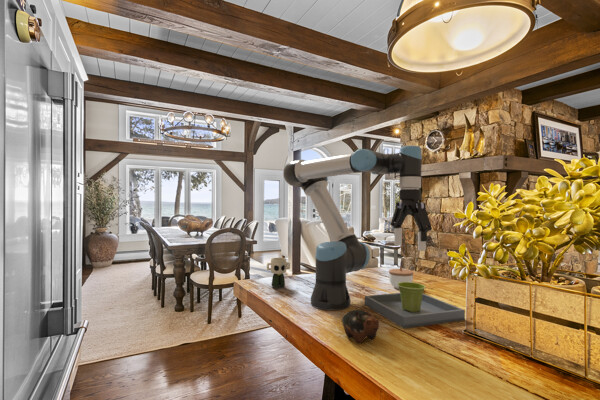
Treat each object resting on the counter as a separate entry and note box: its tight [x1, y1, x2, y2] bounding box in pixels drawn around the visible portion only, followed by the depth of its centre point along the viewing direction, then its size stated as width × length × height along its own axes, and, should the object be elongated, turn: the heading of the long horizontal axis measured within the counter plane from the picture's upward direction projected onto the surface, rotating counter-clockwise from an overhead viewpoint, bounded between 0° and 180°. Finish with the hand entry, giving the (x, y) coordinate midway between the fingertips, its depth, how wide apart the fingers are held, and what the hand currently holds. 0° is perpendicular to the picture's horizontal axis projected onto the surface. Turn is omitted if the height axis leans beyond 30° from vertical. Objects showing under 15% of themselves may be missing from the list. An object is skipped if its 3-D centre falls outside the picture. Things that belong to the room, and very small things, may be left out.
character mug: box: [266, 257, 291, 288], centre depth 148 cm, size 11×7×13 cm, turn 106°
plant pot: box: [398, 281, 426, 312], centre depth 115 cm, size 9×9×9 cm
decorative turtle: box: [341, 309, 380, 345], centre depth 93 cm, size 10×15×8 cm, turn 32°
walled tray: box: [364, 292, 466, 329], centre depth 115 cm, size 24×24×4 cm
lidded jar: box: [388, 267, 414, 290], centre depth 149 cm, size 11×11×9 cm
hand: (409, 248), depth 116 cm, fingers open, 13 cm apart
